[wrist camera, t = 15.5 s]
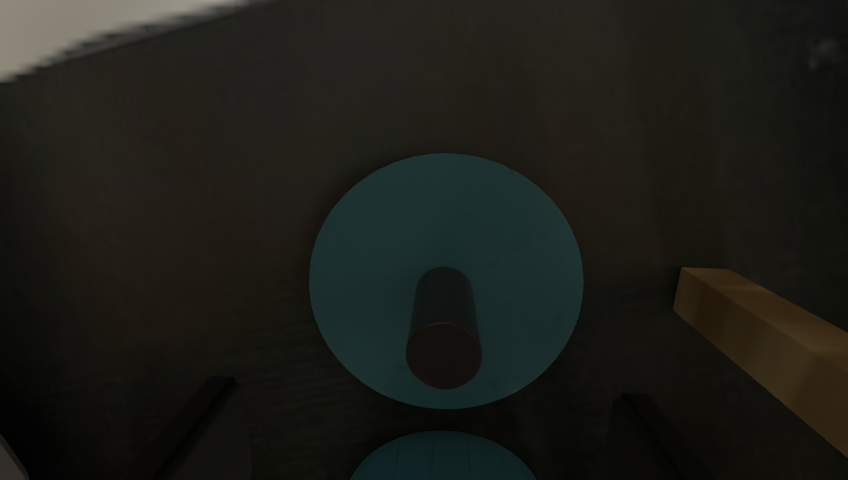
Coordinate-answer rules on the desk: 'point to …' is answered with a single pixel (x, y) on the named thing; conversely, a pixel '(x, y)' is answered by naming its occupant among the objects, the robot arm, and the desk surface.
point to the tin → (442, 459)
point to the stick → (773, 345)
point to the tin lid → (446, 281)
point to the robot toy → (10, 463)
